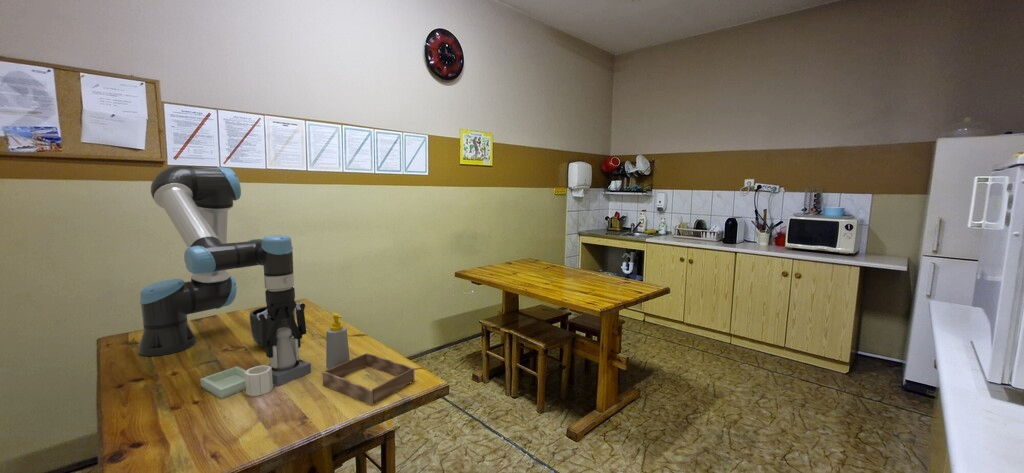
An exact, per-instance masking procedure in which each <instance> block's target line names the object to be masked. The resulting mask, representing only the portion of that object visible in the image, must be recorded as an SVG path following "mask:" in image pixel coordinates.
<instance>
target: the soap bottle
mask: <svg viewBox="0 0 1024 473" xmlns="http://www.w3.org/2000/svg"><path fill="white" fill-rule="evenodd" d="M331 315H332V316H333V322H332V323H331V324H332V325H331V326H330V328H327V329H326V340H325V341H326V344H325V345H326V346H325V347H326V348H325V349H326V355H325V356H326V358H325V359H326V363H325V364H326V365H325V366H326V367H325V368H326V370H328V369H330V368H333V367H335V366H337V365H340V364H342V363H344V362H347V361H349V360H351V359H350V348H349V338H348V329H347V327H346V326H343V325H342V324H341V321H339V318H340V319H342V318H343V317H342V315H341V314H340V313H338V312H332V313H331Z"/></svg>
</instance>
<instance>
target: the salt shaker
mask: <svg viewBox="0 0 1024 473" xmlns="http://www.w3.org/2000/svg"><path fill="white" fill-rule="evenodd" d="M290 335H291V329H290V328H279V329H277V332H276V336H275V337H276V338H278V341H277V347H276V350H277V365H278V368H276V370H277V371H286V370H290V369H292V368H294V366H295V363H296V359H295V355H294V352H293V348H292V344H291V340H290V337H289V336H290Z"/></svg>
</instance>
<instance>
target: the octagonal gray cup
mask: <svg viewBox="0 0 1024 473" xmlns="http://www.w3.org/2000/svg"><path fill="white" fill-rule="evenodd" d="M245 385H246V389H245V394H246V395H248V396H249V397H257V396H263V395H265V394H267V393H269V392H271V391H272V389H273V388H274V384H273V379H272V367H270V366H268V364H263V365H256V366H254V367H250V368H248V369H247V371H246V372H245Z"/></svg>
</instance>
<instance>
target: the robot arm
mask: <svg viewBox="0 0 1024 473" xmlns="http://www.w3.org/2000/svg"><path fill="white" fill-rule="evenodd" d="M238 177H239V176H238V175H237V174H236V173H235V171H234V170H233V169H232V168H229V167H223V166H213V165H212V166H211V165H210V166H206V165H205V166H204V165H200V166H199V165H198V166H197V165H174V166H170V167H167V168H164V169H163V170H161V171H160V172H159V173H158V174H156V175H155V177H154V178H153V179H152V182H151V185H150V194H151V198H152V199H153V201H154V203H155V204H156V205H157V206H158V207H160V208H161V209H163V210H164V211H165V213H166V215H167V216H168V217H169V219H170V221H171V222H172V225H173V226H174V228H175V229H176V231H177V232H178V234H179V236H180V238H182V241H183V242H184V244H185V245H186V247H187V248H186V249H185V250H184V253H183V257H184V258H183V259H184V264H185V268H186V269H187V271H188V272H189V273H190V274H191V275H190V279H191V280H190V281H184V279H181V278H173V279H166V280H165V279H164V280H161V281H157V282H154V283H151V284H148V285H146V286H144V287H142V289H141V290H140V292H139V293H140V294H139V295H140V298H139V299H140V300H139V304H140V306H141V315H142V316H141V317H142V326H143V332H142V335H141V338H140V341H139V345H138V352H139V355H140V356H145V357H154V356H155V357H157V356H164V355H170V354H174V353H179V352H181V351H184V350H186V349H188V348H192V347H193V346H194V345H195V344H196V343H197V342H196V335H195V334H194V332H193V330H192V328H191V327H190V325H189V322H188V315H191V314H197V313H201V312H205V311H210V310H214V309H215V310H218V309H221V308H223V307H227V306H230V305H231V304H232V303H233V302H234V301H235V299H236V297H237V292H238V291H237V290H238V289H237V288H238V287H237V281H236V278H234V277H233V276H232V275H231V273H230V272H229V271H227V270H233V269H241V268H242V269H243V268H248V267H250V268H251V267H254V266H261V267H262V266H263V279H264V289H265V295H264V296H265V303H266V305H265V307H266V309H265V311H263V312H261V313H256V315H255V316H256V318H257V320H258V344H257V346H259V347H261V348H262V347H264V348H265V347H266V349H265V355H266V356H265V357H266V358H268V359H269V364H270V367H273V368H278V365H277V350H276V346H274V340H275V336H276V332H277V328H278V324H279V323H280V320H282V319H284V318H285V319H286V321H287V323H288V326H289V328H290V329H291V333H292V335H293V337H292V338H290V340H291V344H292V348H293V352H294V355H295V359H296V360H299V359H300V355H299V353H300V352H299V349H300V348H301V346H302V345H301V339H303V335H306V334H307V325H306V316H305V309H306V308H305V307H306V303H304V302H303V303H302V302H300V301H299V302H297V301H295V300H296V294H295V293H296V290H295V289H296V288H295V287H294V286H295V276H294V256H293V254H294V253H293V245H292V238H291V237H290V236H288V235H281V234H280V235H279V234H278V235H269V236H267V235H266V236H264V237H263V238H257V239H256V238H253V239H249V240H247V241H240V242H239V241H237V242H228V243H227V240H228V239H227V236H228V217H229V216H228V215H229V213H228V212H229V210H230V209H232V208H233V207H234V201H238V200H239V199H241V196H242V188H241V183H240V180H239V178H238ZM294 309H295V317H294V315H293V311H294ZM267 314H268V315H269V316H270V319H269V322H270V323H269V328H268V332H267V321H266V319H267ZM294 318H295V319H294ZM264 348H263V349H264Z"/></svg>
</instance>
